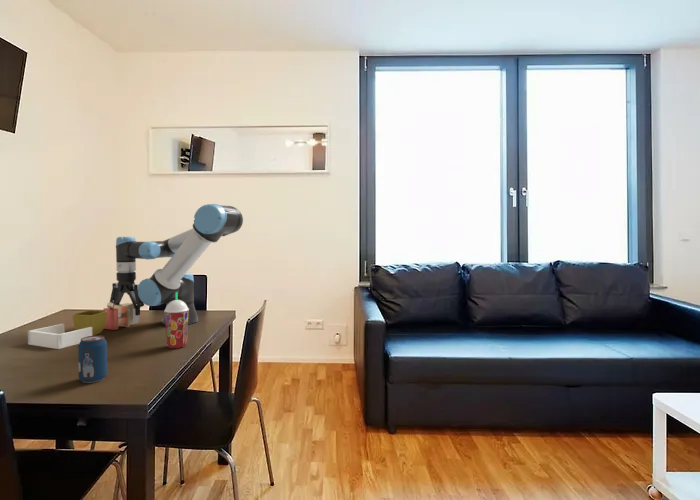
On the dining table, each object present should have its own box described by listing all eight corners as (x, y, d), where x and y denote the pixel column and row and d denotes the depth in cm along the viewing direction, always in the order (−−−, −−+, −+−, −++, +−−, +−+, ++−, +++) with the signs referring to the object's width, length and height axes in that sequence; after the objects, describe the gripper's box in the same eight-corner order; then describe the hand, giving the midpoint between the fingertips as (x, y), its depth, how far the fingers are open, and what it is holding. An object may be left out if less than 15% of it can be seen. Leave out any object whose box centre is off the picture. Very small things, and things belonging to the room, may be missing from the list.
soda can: (104, 373, 123) (103, 333, 122) (110, 379, 118) (109, 338, 117) (76, 378, 118) (75, 337, 117) (81, 385, 113) (80, 342, 112)
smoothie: (194, 344, 154) (193, 291, 153) (177, 350, 146) (177, 294, 145) (176, 342, 157) (175, 290, 156) (159, 348, 149) (158, 293, 148)
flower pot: (90, 338, 161) (90, 315, 161) (71, 336, 163) (71, 314, 163) (108, 332, 170) (107, 311, 169) (90, 331, 172) (89, 310, 171)
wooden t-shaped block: (142, 323, 185) (141, 298, 185) (116, 330, 173) (115, 303, 172) (126, 322, 188) (126, 297, 188) (100, 328, 176) (99, 301, 175)
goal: (92, 340, 159) (92, 327, 158) (58, 349, 146) (58, 335, 146) (62, 336, 164) (62, 323, 164) (27, 344, 152) (27, 330, 151)
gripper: (99, 271, 182) (100, 321, 183) (139, 273, 174) (139, 325, 176) (114, 269, 189) (114, 317, 190) (152, 272, 182) (153, 321, 183)
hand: (126, 321), depth 183 cm, fingers open, 10 cm apart
